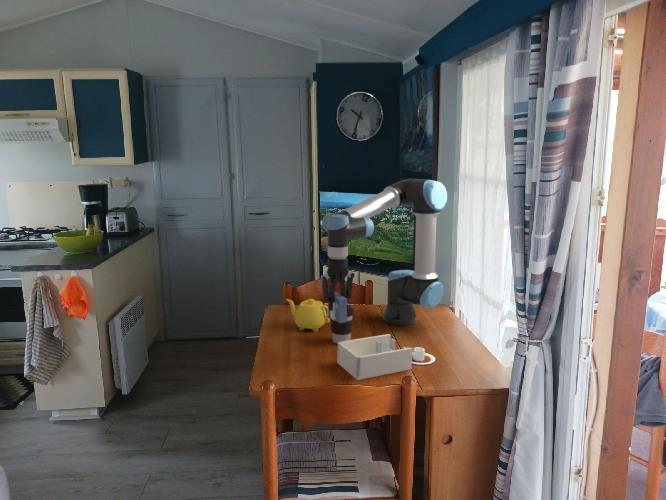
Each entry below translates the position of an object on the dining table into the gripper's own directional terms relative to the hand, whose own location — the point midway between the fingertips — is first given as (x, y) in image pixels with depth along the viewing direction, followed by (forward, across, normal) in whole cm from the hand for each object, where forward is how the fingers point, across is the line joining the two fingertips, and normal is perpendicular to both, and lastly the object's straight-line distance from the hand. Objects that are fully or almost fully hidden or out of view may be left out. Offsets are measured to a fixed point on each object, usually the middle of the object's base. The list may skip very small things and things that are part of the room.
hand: (337, 317), depth 207 cm
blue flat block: (0, 0, 0) cm, 0 cm away
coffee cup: (+15, -8, -12) cm, 21 cm away
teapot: (+15, -2, -33) cm, 36 cm away
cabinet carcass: (+15, -8, +15) cm, 23 cm away
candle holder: (+16, -27, +16) cm, 35 cm away
